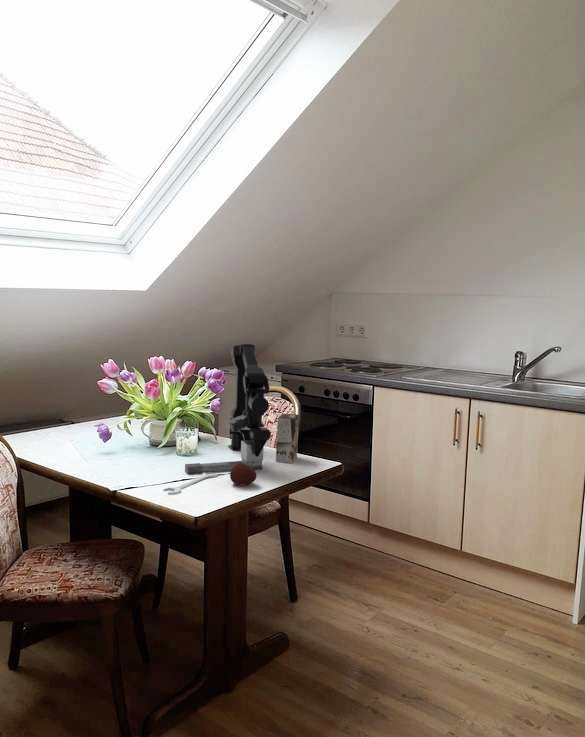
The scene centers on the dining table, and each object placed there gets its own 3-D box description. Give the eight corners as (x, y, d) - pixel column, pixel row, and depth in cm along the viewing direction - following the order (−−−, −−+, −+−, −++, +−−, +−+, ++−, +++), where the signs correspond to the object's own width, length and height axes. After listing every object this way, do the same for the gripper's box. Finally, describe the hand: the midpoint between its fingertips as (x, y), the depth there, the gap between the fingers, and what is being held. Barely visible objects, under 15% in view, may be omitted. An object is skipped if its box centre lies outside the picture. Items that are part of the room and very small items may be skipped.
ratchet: (183, 469, 219) (184, 449, 218) (257, 464, 230) (258, 444, 229) (188, 475, 213) (189, 454, 212) (264, 469, 223) (265, 449, 222)
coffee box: (292, 463, 233) (294, 419, 231) (275, 461, 234) (276, 417, 232) (297, 457, 242) (299, 414, 240) (280, 455, 243) (282, 412, 241)
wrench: (159, 495, 195) (173, 498, 193) (159, 490, 195) (173, 493, 193) (207, 473, 217) (220, 476, 215) (207, 469, 217) (220, 471, 215)
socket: (240, 457, 226) (241, 440, 226) (256, 456, 229) (257, 439, 228) (246, 462, 221) (247, 444, 220) (263, 460, 223) (263, 443, 222)
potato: (253, 489, 202) (254, 467, 201) (227, 486, 203) (227, 465, 202) (258, 482, 209) (259, 461, 208) (233, 480, 210) (233, 459, 210)
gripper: (222, 404, 228) (221, 447, 230) (240, 414, 211) (238, 461, 213) (253, 403, 232) (251, 445, 234) (272, 413, 215) (270, 459, 217)
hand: (252, 452), depth 225 cm, fingers open, 9 cm apart
